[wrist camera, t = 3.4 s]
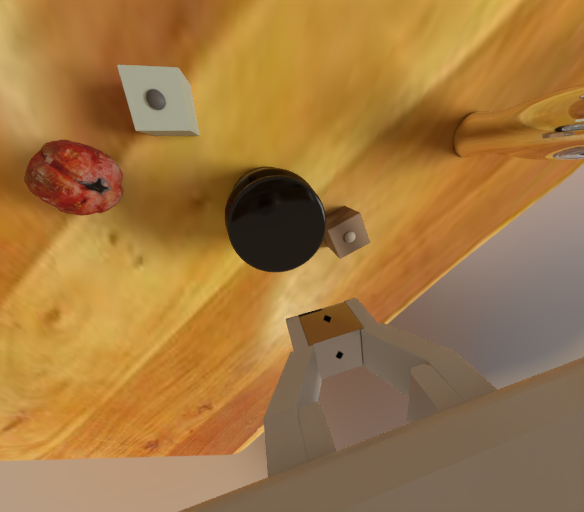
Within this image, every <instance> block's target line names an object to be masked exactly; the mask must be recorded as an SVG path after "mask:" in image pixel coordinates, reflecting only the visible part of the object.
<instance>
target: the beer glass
mask: <svg viewBox="0 0 584 512" xmlns="http://www.w3.org/2000/svg"><path fill="white" fill-rule="evenodd" d="M454 149H455V151H456V153H457V154H458V155H459V156H461V157H471V156H476V155H481V154H498V155H505V156H510V157H517V158H524V159H533V160H568V159H584V84H583V85H578V86H574V87H570V88H566V89H562V90H559V91H556V92H552V93H549V94H546V95H543V96H540V97H538V98H535V99H532V100H529V101H527V102H524V103H521V104H519V105H516V106H513V107H510V108H507V109H504V110H500V111H480V112H474V113H472V114H470V115H468V116H467V117H466V118H464V119H463V121H462V122H461V123H460V125H459V126H458V128H457V130H456V133H455V136H454Z"/></svg>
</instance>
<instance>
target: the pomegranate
mask: <svg viewBox="0 0 584 512" xmlns="http://www.w3.org/2000/svg"><path fill="white" fill-rule="evenodd" d="M122 178H123V175H122V172H121V170H120V168H119V166H118V165H117V164H116V162H115V161H114V160H113V158H111V157H110V156H108V155H106V154H104V153H103V152H102V151H100V150H97V149H95V148H93V147H91V146H88V145H84V144H80V143H76V142H71V141H68V140H59V141H52V142H49V143H46V144H45V145H44V146H43V147H42V149H41V150H40V151H39V152H38V153H37V154H36V155H35V156H34V157H33V158H32V159H31V160H30V162H29V164H28V167H27V170H26V174H25V177H24V179H25V182H26V184H27V186H28V188H29V190H30V191H31V192H32V193H33V194H35V195H36V196H38V197H39V198H40V199H42V200H43V201H45V202H46V203H48V204H51V205H53V206H55V207H57V208H58V209H59V210H60V211H61V212H65V213H69V214H76V215H89V214H93V213H96V212H98V213H102V212H105V211H107V210H109V209H110V208H112V207H113V206H115V205H116V204H117V203H119V201H120V199H121V197H122V195H123V190H122V187H121V182H122Z"/></svg>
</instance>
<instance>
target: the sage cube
mask: <svg viewBox="0 0 584 512" xmlns="http://www.w3.org/2000/svg"><path fill="white" fill-rule="evenodd" d="M117 67H118V70H119V74H120V77H121V81H122V84H123V88H124V91H125V95H126V98H127V102H128V105H129V109H130V112H131V116H132V119H133V123H134V126H135V130H136V131H139V132H142V133H146V134H149V135H153V136H200V135H199V130H198V124H197V118H196V113H195V107H194V102H193V96H192V90H191V85H190V83H189V82H188V81H187V79H186V78H185V76H184V75H183V74H182V72H181V71H180V69H179V68H178V67H156V66H135V65H117Z"/></svg>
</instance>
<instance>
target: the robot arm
mask: <svg viewBox="0 0 584 512" xmlns="http://www.w3.org/2000/svg"><path fill="white" fill-rule="evenodd" d="M286 323H287V327H288V330H289V334H290V338H291V342H292V345H293V349H294V351H293V352H290V354H289V357H288V359H287V362H286V364H285V367H284V369H283V372H282V374H281V377H280V379H279V382H278V384H277V387H276V389H275V392H274V394H273V396H272V399H271V401H270V404H269V406H268V409H267V411H266V414H265V416H264V429H265V442H266V455H267V469H268V478H265V479H263V480H260V481H258V482H255V483H252V484H250V485H247V486H245V487H242V488H239V489H237V490H234V491H231V492H229V493H226V494H224V495H221V496H218V497H216V498H213V499H211V500H208V501H205V502H202V503H200V504H197V505H195V506H192V507H190V508H187V509H184V510H182V511H179V512H584V357H582V358H579V359H577V360H574V361H572V362H569V363H566V364H564V365H561V366H559V367H556V368H553V369H551V370H548V371H546V372H543V373H540V374H538V375H535V376H532V377H530V378H527V379H525V380H522V381H519V382H517V383H514V384H511V385H509V386H506V387H504V388H501V389H498V390H497V389H496V388H495V387H494V386H493V385H492V384H491V383H489V382H488V381H487V380H486V379H485V378H484V377H483V376H482V375H481V374H479V373H478V372H477V371H476V370H475V369H474V368H473V367H472V366H470V365H469V364H468V363H467V362H466V361H465V360H464V359H463V358H461V357H460V356H459V355H458V354H457V353H456V352H454V351H452V350H450V349H447V348H445V347H442V346H440V345H437V344H434V343H432V342H429V341H427V340H424V339H422V338H419V337H417V336H414V335H412V334H409V333H407V332H404V331H402V330H399V329H397V328H394V327H392V326H389V325H387V324H384V323H380V324H378V323H377V321H376V320H375V319H374V318H373V317H372V316H371V314H370V313H369V312H368V311H367V310H366V308H365V307H364V306H363V305H362V304H361V303H360V301H359V300H358V299H357V298H353V299H350V300H347V301H344V302H341V303H338V304H335V305H332V306H328V307H325V308H322V309H319V310H315V311H311V312H308V313H304V314H301V315H298V316H294V317H291V318H287V319H286ZM362 365H364V367H366V368H367V369H368V370H370V371H371V372H372V373H374V374H375V375H377V376H378V377H380V378H381V379H382V380H384V381H385V382H387V383H388V384H389V385H391V386H392V387H394V388H395V389H397V390H398V391H399V392H401V393H402V394H404V395H405V396H407V397H408V398H409V401H408V414H407V420H408V422H409V424H407V425H404V426H401V427H399V428H396V429H393V430H391V431H389V432H386V433H383V434H380V435H378V436H375V437H372V438H370V439H367V440H365V441H362V442H360V443H357V444H354V445H352V446H349V447H347V448H344V449H341V450H339V451H336V448H335V446H334V442H333V439H332V436H331V433H330V430H329V427H328V425H327V421H326V418H325V415H324V412H323V409H322V406H321V405H320V404H318V398H319V392H320V387H321V380H322V379H324V378H326V377H329V376H332V375H335V374H337V373H340V372H343V371H346V370H349V369H353V368H356V367H359V366H362Z"/></svg>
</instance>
